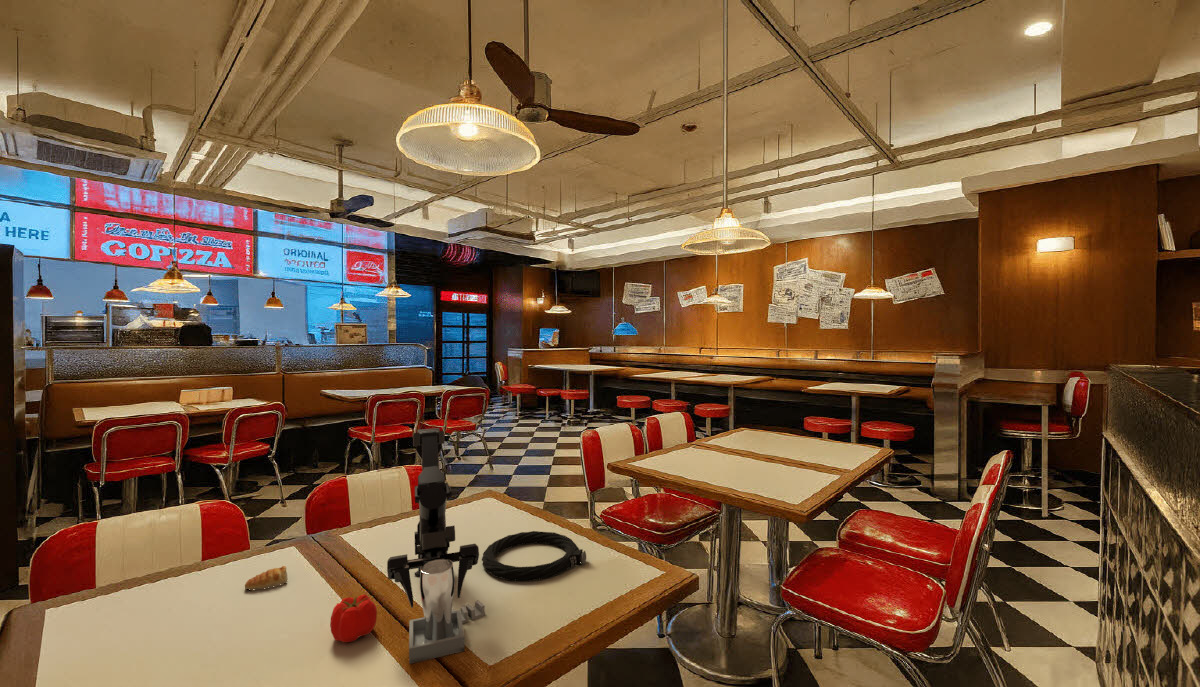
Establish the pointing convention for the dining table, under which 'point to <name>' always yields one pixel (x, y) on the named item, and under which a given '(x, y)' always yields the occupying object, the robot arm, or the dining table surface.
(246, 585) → the pastry
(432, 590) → the beer glass
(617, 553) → the dining table surface
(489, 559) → the cable lock
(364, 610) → the tomato
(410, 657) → the holder
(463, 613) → the clip
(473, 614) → the clip
